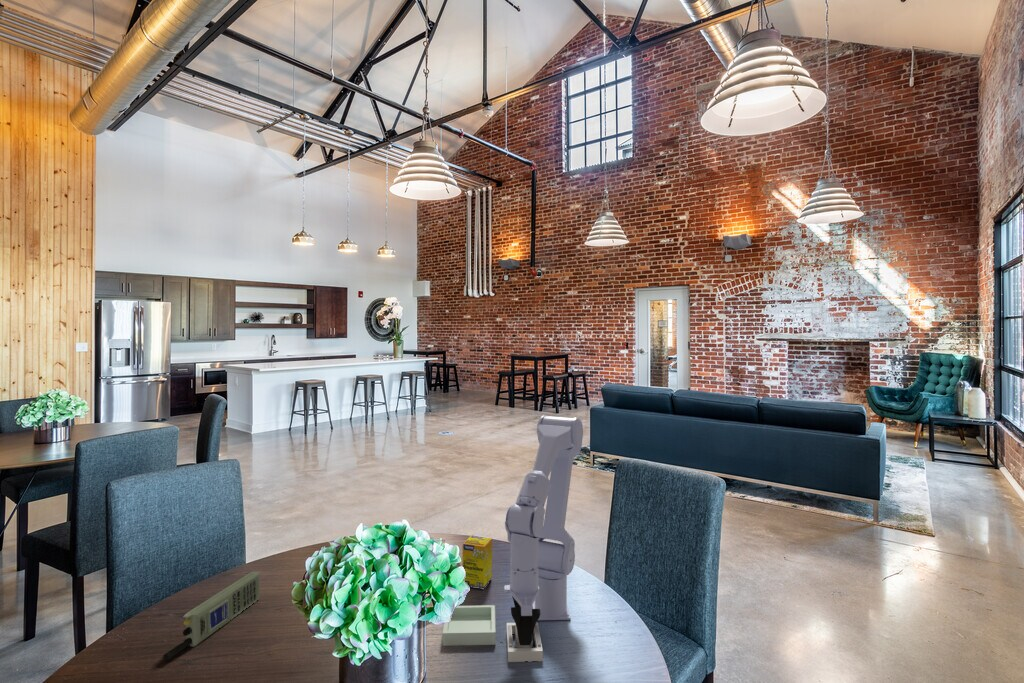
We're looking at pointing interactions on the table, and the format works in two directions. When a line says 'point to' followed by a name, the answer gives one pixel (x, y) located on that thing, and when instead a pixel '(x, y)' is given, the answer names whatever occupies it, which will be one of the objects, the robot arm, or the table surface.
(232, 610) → the handheld radio
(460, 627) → the parts tray
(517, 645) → the cylinder
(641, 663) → the table surface
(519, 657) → the holder
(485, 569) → the supplement box
